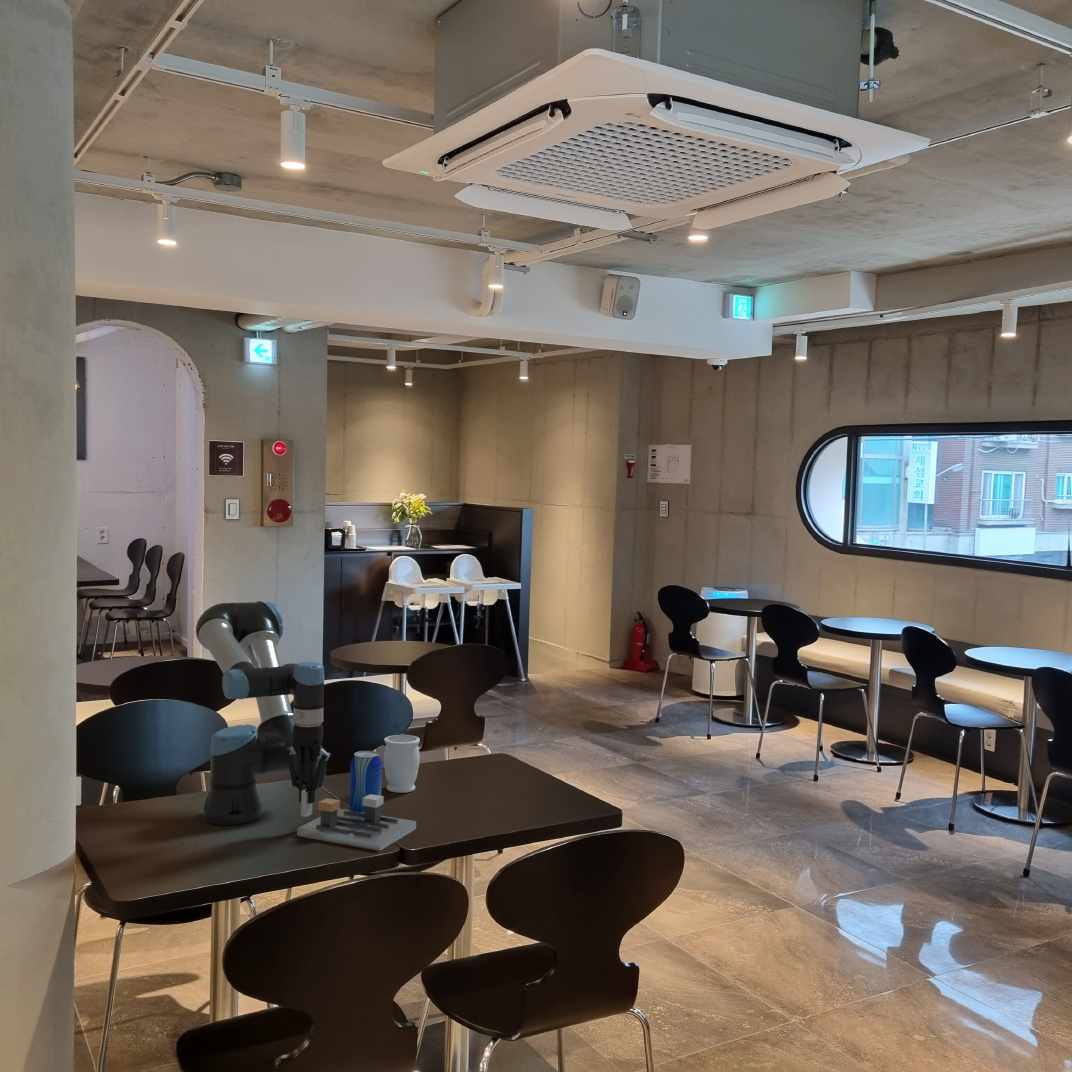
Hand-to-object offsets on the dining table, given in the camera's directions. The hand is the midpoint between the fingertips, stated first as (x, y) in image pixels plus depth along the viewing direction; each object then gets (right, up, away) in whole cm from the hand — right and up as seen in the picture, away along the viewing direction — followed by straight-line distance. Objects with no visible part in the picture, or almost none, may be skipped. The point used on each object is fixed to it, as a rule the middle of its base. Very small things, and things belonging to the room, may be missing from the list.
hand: (306, 815), depth 258 cm
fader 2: (+17, -2, +2) cm, 17 cm away
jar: (+19, -3, +38) cm, 42 cm away
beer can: (+12, -4, +16) cm, 20 cm away
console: (+13, -4, -1) cm, 14 cm away
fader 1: (+6, -2, -2) cm, 7 cm away
